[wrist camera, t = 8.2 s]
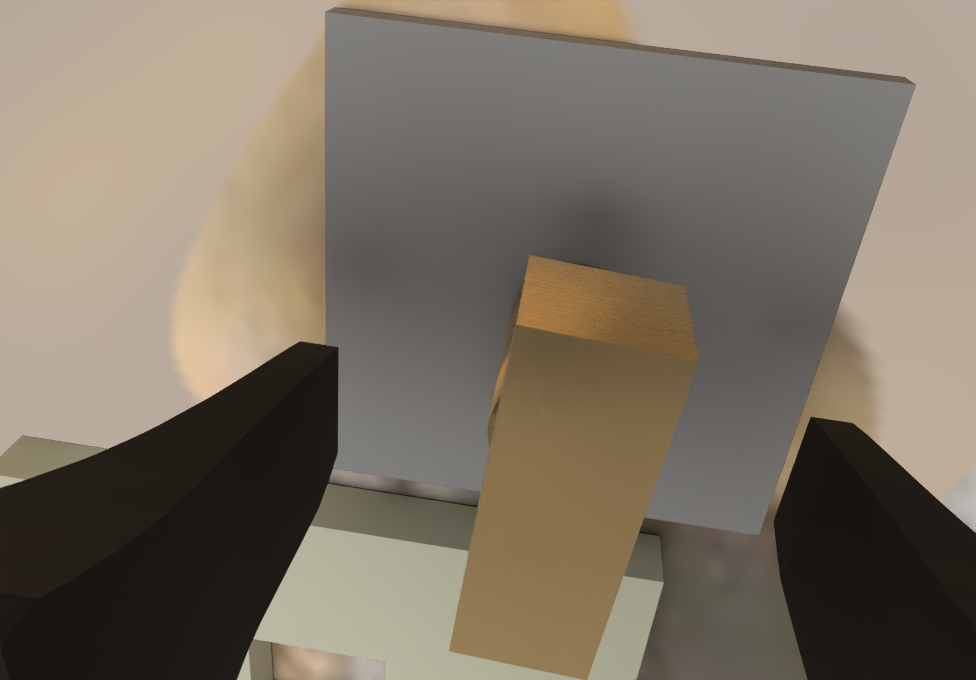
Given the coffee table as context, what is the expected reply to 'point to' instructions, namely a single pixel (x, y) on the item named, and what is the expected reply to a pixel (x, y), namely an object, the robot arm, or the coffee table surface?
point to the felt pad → (586, 231)
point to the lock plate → (392, 584)
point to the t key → (571, 460)
